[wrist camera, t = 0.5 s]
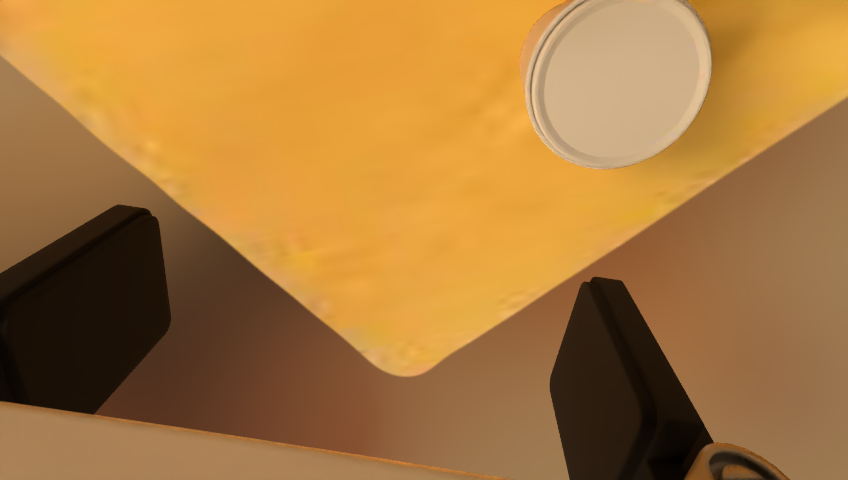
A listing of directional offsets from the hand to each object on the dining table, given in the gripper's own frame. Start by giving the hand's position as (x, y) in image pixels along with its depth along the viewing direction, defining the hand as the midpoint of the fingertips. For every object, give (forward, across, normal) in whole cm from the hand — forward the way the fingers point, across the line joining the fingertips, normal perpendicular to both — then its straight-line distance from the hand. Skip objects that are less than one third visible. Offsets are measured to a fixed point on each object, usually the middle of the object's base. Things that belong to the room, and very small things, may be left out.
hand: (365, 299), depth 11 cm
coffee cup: (+29, -10, -3) cm, 31 cm away
